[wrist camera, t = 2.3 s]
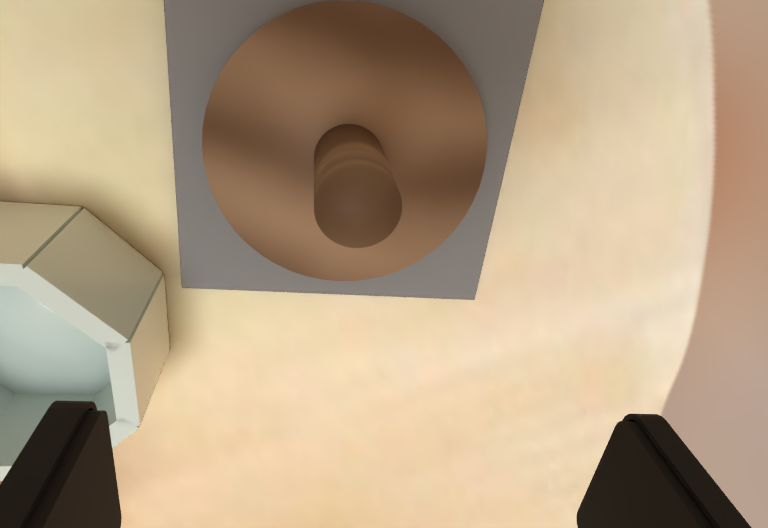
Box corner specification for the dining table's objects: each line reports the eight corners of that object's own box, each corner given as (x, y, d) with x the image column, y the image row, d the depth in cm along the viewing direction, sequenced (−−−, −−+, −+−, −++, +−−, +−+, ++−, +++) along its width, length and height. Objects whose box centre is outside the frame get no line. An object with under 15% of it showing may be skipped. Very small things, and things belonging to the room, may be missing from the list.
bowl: (-116, 194, 24) (-233, 252, 19) (159, 211, 26) (120, 269, 21) (-50, 394, 30) (-127, 482, 25) (173, 396, 32) (146, 479, 27)
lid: (201, -19, 22) (153, -18, 15) (506, 19, 24) (576, 35, 17) (211, 264, 27) (180, 349, 21) (454, 275, 29) (492, 356, 23)
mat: (163, -68, 21) (159, -69, 21) (541, -14, 24) (547, -13, 23) (184, 281, 28) (181, 287, 28) (471, 294, 31) (474, 299, 30)
